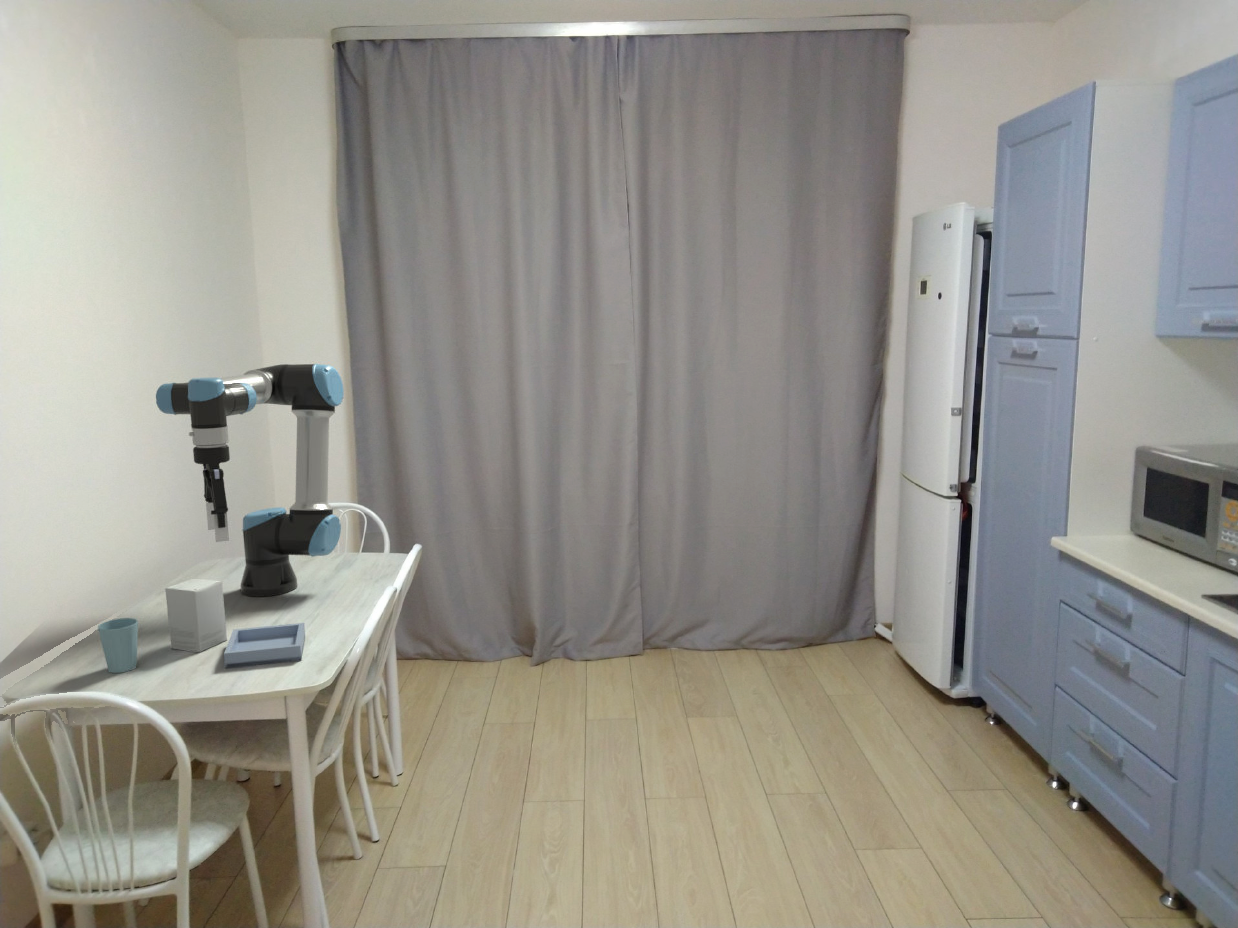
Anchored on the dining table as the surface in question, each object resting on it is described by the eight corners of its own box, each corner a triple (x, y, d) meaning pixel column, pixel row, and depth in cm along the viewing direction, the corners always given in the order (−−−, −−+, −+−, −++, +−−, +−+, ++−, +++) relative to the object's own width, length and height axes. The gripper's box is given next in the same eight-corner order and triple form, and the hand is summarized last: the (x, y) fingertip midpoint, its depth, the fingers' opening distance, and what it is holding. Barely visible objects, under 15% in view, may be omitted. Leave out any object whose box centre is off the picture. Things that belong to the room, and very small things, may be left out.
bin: (234, 643, 210) (233, 629, 209) (305, 636, 214) (304, 622, 214) (225, 668, 195) (223, 653, 194) (301, 660, 199) (300, 645, 199)
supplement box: (228, 640, 212) (223, 580, 210) (200, 653, 204) (194, 591, 201) (199, 635, 215) (193, 577, 213) (169, 648, 207) (164, 587, 204)
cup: (99, 667, 196) (94, 622, 194) (137, 658, 200) (133, 615, 199) (106, 677, 190) (101, 632, 188) (145, 668, 195) (141, 624, 193)
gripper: (187, 440, 210) (194, 526, 214) (199, 453, 189) (207, 548, 193) (221, 437, 214) (227, 522, 218) (236, 450, 193) (244, 544, 197)
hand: (218, 535), depth 205 cm, fingers open, 13 cm apart
